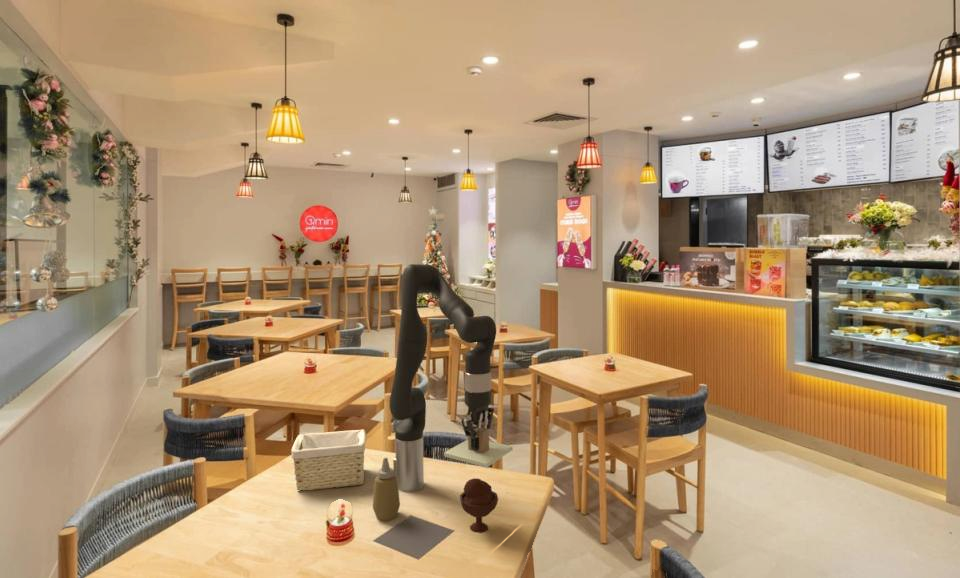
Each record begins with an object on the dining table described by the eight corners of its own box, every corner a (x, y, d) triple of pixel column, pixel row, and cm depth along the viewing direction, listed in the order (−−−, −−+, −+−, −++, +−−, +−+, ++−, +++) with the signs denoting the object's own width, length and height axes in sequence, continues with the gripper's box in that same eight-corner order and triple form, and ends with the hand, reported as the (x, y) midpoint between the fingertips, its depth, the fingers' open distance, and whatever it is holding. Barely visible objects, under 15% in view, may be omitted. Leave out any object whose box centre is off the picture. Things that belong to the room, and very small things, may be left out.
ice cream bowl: (495, 541, 142) (494, 488, 141) (455, 537, 144) (454, 484, 143) (501, 521, 152) (501, 471, 151) (464, 517, 154) (463, 468, 153)
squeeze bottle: (405, 512, 157) (404, 455, 156) (392, 526, 150) (390, 465, 148) (381, 508, 160) (380, 451, 159) (367, 521, 152) (366, 462, 151)
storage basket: (291, 494, 170) (289, 450, 169) (298, 473, 186) (297, 433, 185) (366, 487, 175) (365, 444, 173) (367, 467, 190) (366, 428, 189)
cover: (443, 456, 144) (443, 431, 144) (471, 440, 156) (471, 417, 155) (486, 467, 137) (486, 441, 136) (512, 449, 148) (512, 426, 148)
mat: (372, 542, 142) (372, 540, 142) (410, 516, 155) (410, 515, 155) (418, 560, 133) (418, 559, 133) (454, 532, 147) (454, 530, 146)
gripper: (480, 380, 153) (480, 437, 154) (452, 391, 141) (453, 453, 142) (502, 383, 149) (502, 442, 150) (475, 395, 137) (476, 459, 138)
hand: (478, 447), depth 146 cm, fingers closed on cover, 3 cm apart
